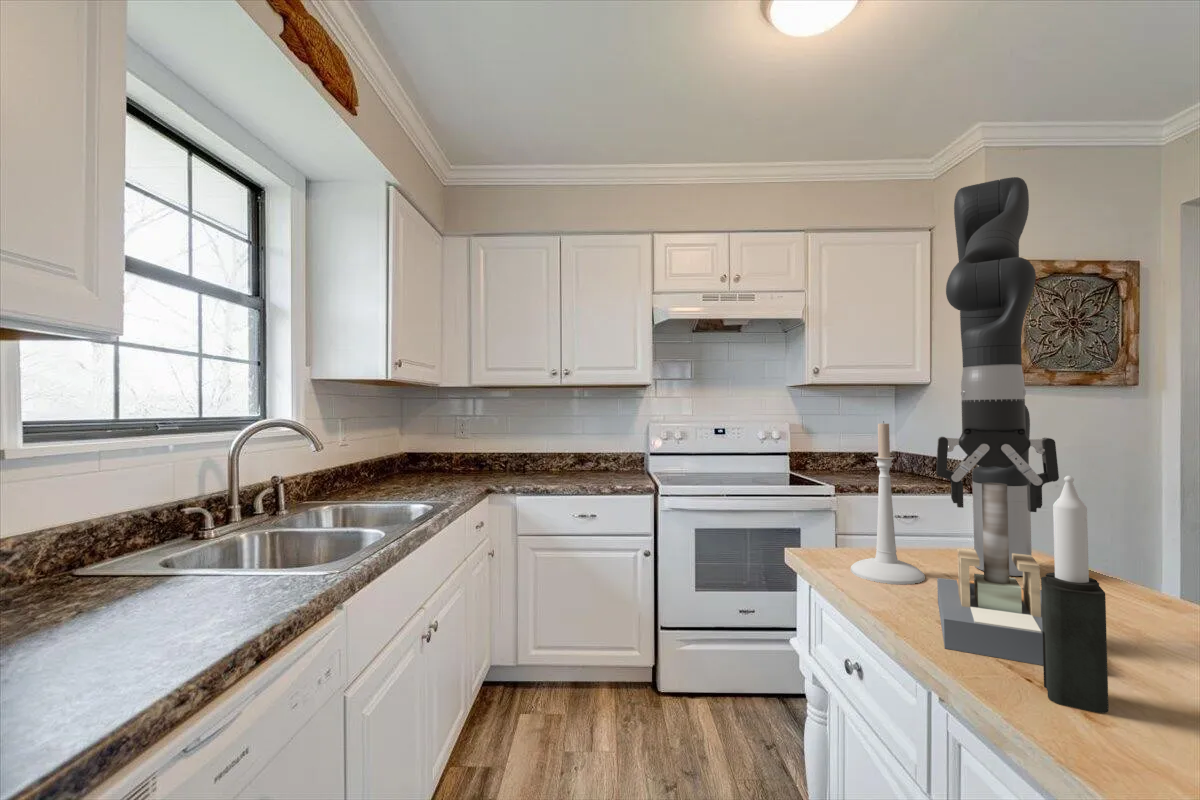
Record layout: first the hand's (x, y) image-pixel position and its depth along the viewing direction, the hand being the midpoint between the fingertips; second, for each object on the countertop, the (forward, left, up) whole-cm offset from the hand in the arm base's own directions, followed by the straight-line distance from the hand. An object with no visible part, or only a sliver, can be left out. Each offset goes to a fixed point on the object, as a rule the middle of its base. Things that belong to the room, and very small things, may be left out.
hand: (994, 508), depth 79 cm
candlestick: (-24, -15, -18) cm, 33 cm away
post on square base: (0, 0, -14) cm, 14 cm away
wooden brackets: (0, 0, -14) cm, 14 cm away
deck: (-1, 0, -18) cm, 18 cm away
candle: (+17, +5, -18) cm, 26 cm away
